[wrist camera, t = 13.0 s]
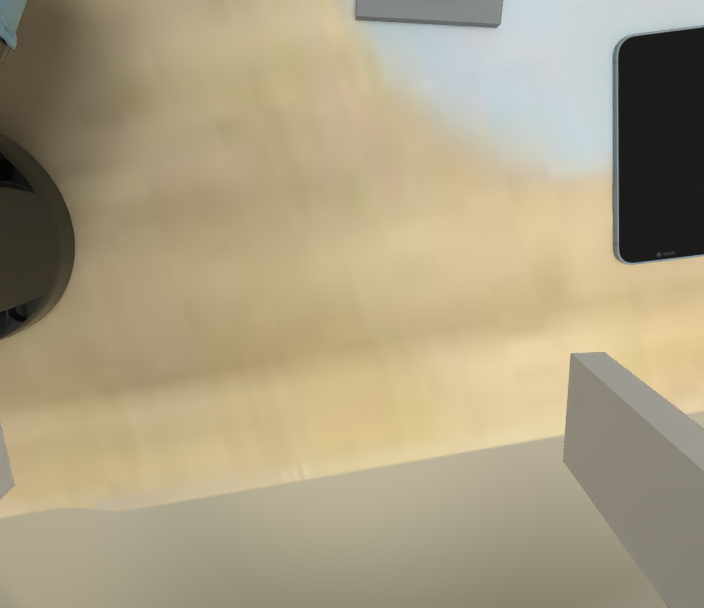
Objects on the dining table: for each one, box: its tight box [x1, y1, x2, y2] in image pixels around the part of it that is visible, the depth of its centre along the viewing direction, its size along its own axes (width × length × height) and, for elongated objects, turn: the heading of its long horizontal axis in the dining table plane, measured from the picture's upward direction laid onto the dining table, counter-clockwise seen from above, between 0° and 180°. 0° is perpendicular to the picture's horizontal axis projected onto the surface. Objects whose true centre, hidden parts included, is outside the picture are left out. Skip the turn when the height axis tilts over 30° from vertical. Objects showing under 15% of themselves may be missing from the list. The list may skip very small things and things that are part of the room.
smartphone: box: [613, 25, 704, 264], centre depth 38 cm, size 7×1×15 cm
